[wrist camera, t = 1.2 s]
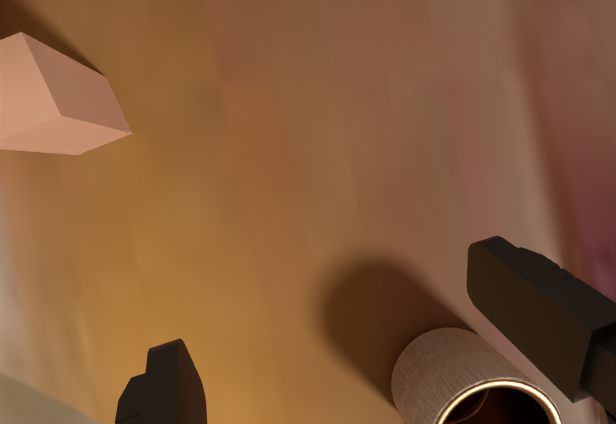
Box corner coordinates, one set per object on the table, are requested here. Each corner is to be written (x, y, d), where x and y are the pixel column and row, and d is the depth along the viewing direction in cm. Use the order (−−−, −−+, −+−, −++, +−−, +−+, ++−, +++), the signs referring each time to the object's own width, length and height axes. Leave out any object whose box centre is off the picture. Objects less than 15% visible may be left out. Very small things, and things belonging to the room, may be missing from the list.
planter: (440, 450, 39) (492, 540, 29) (365, 381, 38) (394, 452, 28) (518, 374, 39) (596, 440, 29) (445, 301, 37) (502, 346, 28)
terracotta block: (51, 99, 33) (-63, 64, 22) (106, 77, 33) (21, 31, 22) (77, 154, 34) (-21, 147, 23) (132, 133, 34) (61, 115, 23)
